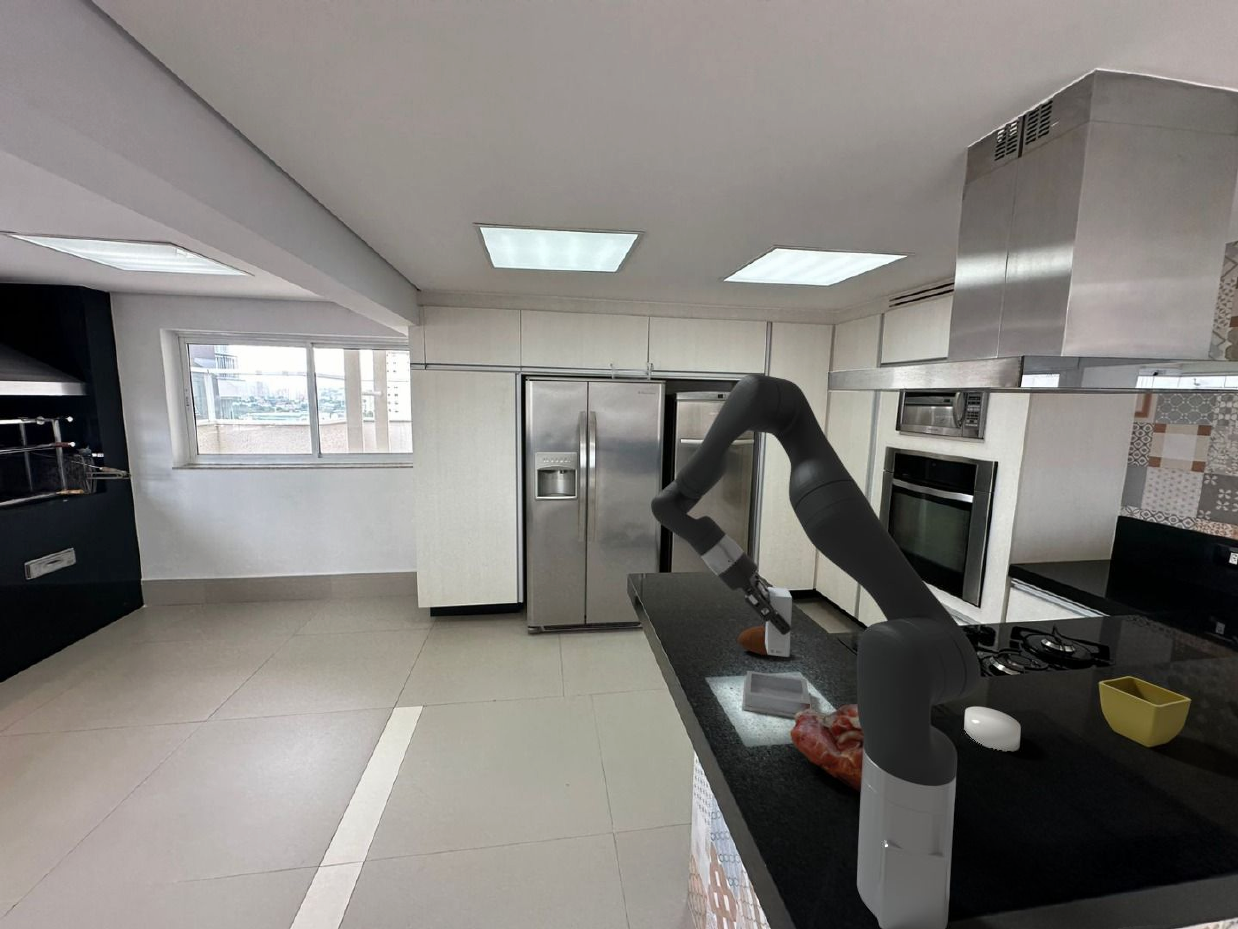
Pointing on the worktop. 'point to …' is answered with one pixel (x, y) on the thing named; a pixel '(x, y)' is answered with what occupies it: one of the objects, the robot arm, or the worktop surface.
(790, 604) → the skincare box
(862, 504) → the robot arm
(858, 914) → the worktop surface
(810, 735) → the meat
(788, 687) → the tray
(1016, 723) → the white domed puck
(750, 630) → the potato
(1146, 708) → the flower pot
